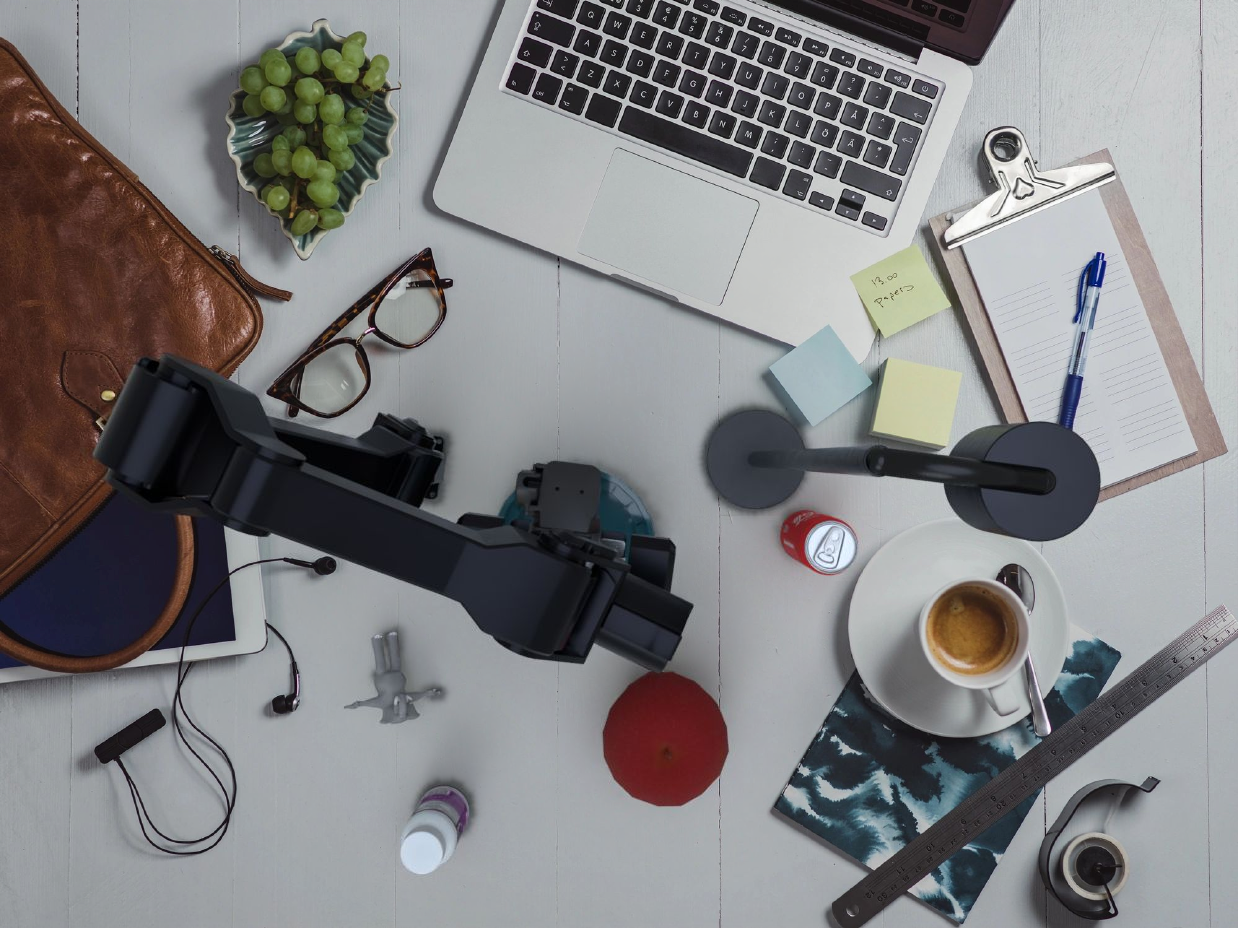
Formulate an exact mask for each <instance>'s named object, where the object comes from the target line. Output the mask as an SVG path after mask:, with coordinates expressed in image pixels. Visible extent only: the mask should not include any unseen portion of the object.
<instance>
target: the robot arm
mask: <svg viewBox="0 0 1238 928" xmlns="http://www.w3.org/2000/svg"><path fill="white" fill-rule="evenodd" d="M439 440H440V443H439V442H438V441H439ZM445 443H446V440H445V438H444V437H443V436H440V435H433V434H432V432H429V431H428V430H427V429H426V427H424V426H423V425H422V424H420V423H419V421H418V420H417V419H415V418H413V417H406V418H400V417H398V416H396V415H393V414H391V413H389V412H388V413H383V412H382V411H381V412H380V411H378V412H377V415H376V417H375V419H374V420H373V423H372V425H371V427H370V429H367V430H366V431H365V432H363V433H362V434H360V435H359V436H357V437H352V436H348V435H345V434H340V433H337V432H332V431H329V430H325V429H321V428H316V427H313V426H310V425H305V424H301V423H297V422H294V421H290V420H287V419H282V418H278V417H274V416H271V415H267V413H266V411H265V408H264V407H263V404H262V403H261V400H260V398H259V396H258V395H256V394H255V392H253V391H250V390H249V389H247V388H245V387H243V386H241V385H240V384H238V383H236V382H234V381H232V380H231V379H229V378H227V377H225V376H224V375H222V374H220V373H218V372H216V371H215V370H212V369H211V368H209V367H207V366H204V365H202V364H200V363H198V362H195V361H193V360H190V359H187V358H185V357H183V356H179V355H177V354H173V353H171V352H166V351H165V352H162V354H161V357H160V358H156V357H153V356H149V355H148V356H147V355H143V356H141V357H139V359H138V360H137V361H136V362H135V363H134V364H133V366H132V368H131V370H130V372H129V375H128V377H127V379H126V381H125V383H124V386H123V387H122V389H121V392H120V394H119V396H118V398H117V400H116V402H115V405H114V406H113V408H112V410H111V413H110V415H109V418H108V419H107V422H106V424H105V426H104V428H103V430H102V432H101V434H100V437H99V439H98V441H97V442H96V445H95V447H94V449H93V450H92V456H93V458H94V459H95V460H96V461H98V462H99V463H100V464H101V465H103V466H105V467H106V468H108V469H107V471H106V473H105V476H104V482H106V483H107V484H108V485H109V486H111V487H112V488H114V489H115V490H116V491H118V492H120V493H121V494H122V495H124V496H125V497H127V498H128V499H130V500H131V501H132V502H134V503H135V504H137V505H138V506H140V507H141V508H142V509H144V510H145V511H147V512H151V513H158V514H167V515H176V516H183V517H193V518H194V517H195V518H201V519H204V518H210V519H212V520H213V521H215V522H217V523H219V525H222V526H224V527H226V528H228V529H231V530H233V531H236V532H238V533H240V534H241V533H242V534H245V535H248V536H251V537H252V536H253V537H258V538H268V537H270V536H271V534H273V535H275V536H278V537H281V538H283V539H286V540H289V541H292V542H294V543H297V544H300V545H302V546H305V547H309V548H310V549H313V550H317V551H320V552H323V553H326V554H328V555H331V556H332V557H336V558H339V559H341V560H344V561H347V562H350V563H352V564H355V565H357V566H361V567H363V568H365V569H369V570H372V571H374V572H377V573H380V574H382V575H386V576H388V577H390V578H394V579H396V580H399V581H402V582H404V583H407V584H409V585H413V586H415V587H418V588H421V589H423V590H426V591H429V592H432V593H434V594H436V595H440V596H442V597H445V598H447V599H449V600H452V601H455V602H457V603H458V604H459V603H460V605H461V607H462V608H464V610H465V611H466V613H467V614H468V615H469V616H470V619H472V621H473V622H474V623H475V625H476V627H478V629H479V631H481V632H482V633H484V634H486V635H489V636H491V637H492V638H493V640H494V641H495V642H496V643H498V644H499V645H500V646H501V647H503V648H504V649H506V650H508V651H510V652H512V653H514V654H516V655H518V656H521V657H524V658H528V659H532V660H541V661H548V662H556V663H557V662H558V663H566V664H567V663H568V664H575V665H576V664H577V665H585V663H586V661H587V659H588V657H589V654H590V652H591V650H592V648H593V646H594V645H597V646H599V647H600V648H603V649H605V650H607V651H609V652H611V653H613V654H615V655H617V656H620V657H621V658H622V659H623V658H624V659H626V660H627V661H629V662H631V663H634V664H636V665H637V666H639V667H642V668H643V669H646V670H648V671H649V672H654V673H656V674H659V675H661V674H662V672H664V670H665V668H666V666H667V665H668V663H669V662H672V661H673V658H674V656H675V654H676V652H677V650H678V648H679V645H680V644H681V642H682V640H683V633H684V630H685V627H686V625H687V622H688V620H689V618H690V615H692V614H691V613H692V612H693V610H694V607H695V604H694V603H692V602H691V601H688V600H686V599H684V598H682V597H680V596H678V595H676V594H674V593H672V587H673V586H672V585H673V578H674V569H675V561H676V552H677V546H676V544H675V543H674V541H673V540H672V539H671V538H670V537H666V536H665V537H664V536H658V535H655V536H651V535H643V534H631V542H630V550H629V557H628V564H627V563H625V560H626V557H625V550H626V542H627V538H626V536H625V534H623V533H622V532H616V531H608V530H600V524H601V519H600V518H599V517H598V516H597V514H598V507H599V499H600V493H601V473H600V471H599V469H600V468H599V469H598V467H596V466H595V465H592V464H585V463H578V462H577V463H576V462H569V461H561V460H551V461H549V462H547V463H542V462H541V463H540V462H536V463H533V464H532V468H531V469H529V470H528V469H521V470H519V472H518V473H517V476H516V482H515V490H514V491H515V500H516V505H517V506H518V507H524V508H526V509H525V516H528V517H533V519H532V521H531V520H523V519H514V520H513V521H512V522H511V523H510V525H508V526H503V525H504V524H505V517H501V516H498V515H496V514H488V513H480V512H473V511H467V512H465V513H463V514H462V515H461V516H460V517H458V518H457V521H456V522H454V521H451V520H449V519H446V518H444V517H441V516H439V515H437V514H434V513H432V512H429V511H426V510H425V509H421V506H422V504H423V502H424V499H425V500H435V499H437V498H438V496H439V490H440V483H442V482H444V477H445V470H446V462H447V457H446V456H445V455H444V451H445V445H446V444H445ZM432 493H434V496H432ZM207 497H209V499H202V498H207Z"/></svg>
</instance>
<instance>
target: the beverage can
mask: <svg viewBox="0 0 1238 928" xmlns="http://www.w3.org/2000/svg"><path fill="white" fill-rule="evenodd" d="M779 536H780V542H781V546H782V548H783V550H784V551H785V553H786V554H787V555H788V556H790V557H791V558H792V559H794V560H796V561H797V562H799V563H800V564H802V565H803V566H805V567H806V568H808V569H810V570H811V571H812V572H814V573H816V574H818V575H822V576H836V575H840V574H841V573H844V572H845V571H847V570H848V569H849V568H851V566H852V565H853V564H854V563H855V560H856V558H857V556H858V552H859V540H858V537H857V535H856V532H855V531H854V529H853V528H852V526H851V525H849V524H848V523H847V522H846V521H845V520H842V519H840V518H838V517H834V516H831V515H827V514H824V513H821V512H818V511H814V510H811V509H802V510H798V511H795V512H793V513H791V514H790V515H789V516H788V517H787V518H786V519H785V520H784V522H783V524H782V526H781V529H780V535H779Z"/></svg>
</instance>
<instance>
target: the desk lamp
mask: <svg viewBox="0 0 1238 928" xmlns="http://www.w3.org/2000/svg"><path fill="white" fill-rule="evenodd" d="M704 460H705V468H706V474H707V475H708V478H709V481H710V483H711V485H712V486H713V488H714V490H716V492H717V493H718V494H719V495H720V496H721V497H723V499H725V500H727V501H728V502H729V503H731V504H733V505H735V506H738V507H741V508H744V509H749V510H763V509H768V508H772V507H774V506H775V507H776V506H777V505H779V504H781V503H783V502H784V501H786V500H787V499H788V498H789V497H791V496H792V495H793V494H794V493H795V491H796V490H797V489H798V487H799V486H800V484H801V482H802V480H803V478H804V475H805V472H809V473H821V474H833V475H834V474H835V475H846V476H847V475H848V476H860V477H870V478H871V477H872V478H883V477H889V478H890V477H891V478H897V479H906V480H914V481H921V482H922V481H923V482H930V483H937V484H943V490H944V494H945V497H946V500H947V502H948V504H949V506H950V507H951V509H952V510H953V512H954V513H955V514H956V516H957V517H958V518H959V519H960V520H962V521H963V523H965V524H967V525H969V527H972V528H974V529H976V530H978V531H981V532H986V533H990V534H994V535H999V536H1004V537H1009V538H1014V539H1019V540H1023V541H1028V542H1035V543H1036V542H1037V543H1043V542H1051V541H1055V540H1059V539H1062V538H1064V537H1067V536H1068V535H1070V534H1072V533H1073V532H1075V531H1076V530H1078V529H1079V528H1080V527H1081V526H1083V524H1085V522H1086V521H1087V520H1088V519H1089V518H1090V516H1091V515H1092V513H1093V512H1094V510H1095V508H1096V506H1097V503H1098V502H1099V501H1098V500H1099V497H1100V493H1101V483H1102V479H1101V469H1100V465H1099V462H1098V460H1097V457H1096V455H1095V453H1094V451H1093V449H1092V448H1091V446H1090V445H1089V444H1088V443H1087V442H1086V441H1085V439H1084V438H1083V437H1082V436H1080V435H1079V434H1078V433H1077V432H1075V431H1074V430H1073V429H1071V428H1069V427H1067V426H1064V425H1063V424H1060V423H1056V422H1052V421H1044V420H1043V421H1042V420H1037V421H1023V422H1014V423H1013V422H1012V423H1003V424H1002V423H1000V424H992V425H991V424H990V425H986V426H982V427H979V428H976V429H974V430H973V431H970V432H969V433H967V434H965V435H964V436H963V437H962V438H960V439H959V440H958V442H956V443H955V445H954V446H953V448H952V449H951V451H950V452H949V454H948V455H947V454H940V453H930V452H923V451H915V450H907V449H900V448H899V449H898V448H891V447H888V446H886V445H883V444H872V445H855V446H837V447H816V448H814V447H813V448H806V447H805V444H804V441H803V438H802V437H801V434H800V433H799V432H798V430H797V428H795V426H794V425H793V424H792V423H791V422H790V421H789V420H787V419H786V418H785V417H783V416H782V415H780V414H777V413H775V412H773V411H769V410H764V409H748V410H744V411H741V412H738V413H735V414H733V415H731V416H729V417H728V418H726V419H724V420H723V421H722V422H721V423H720V424H719V425H718V426H717V427H716V428H715V430H714V431H713V433H712V435H711V436H710V438H709V440H708V443H707V446H706V450H705V459H704Z"/></svg>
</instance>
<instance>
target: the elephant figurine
mask: <svg viewBox="0 0 1238 928" xmlns="http://www.w3.org/2000/svg"><path fill="white" fill-rule="evenodd" d="M385 637H386V643H387V649H388V650H387V651H388V657H389V666H390V667H389V668H388V667H387V660H386V654H385V647H384V641H383V635H382V634H376V635H374V636H372V637H371V639H370V641H371V646H372V650H373V655H374V663H375V672H376V674H375V677H374V680H373V685H374V688H375V691H376V693H377V696H374V697H371V698H368V699H366V700H356V701H354V702H353V703H351V704H347V705H345V706H343V709H344V710H347V709H349V710H356V709H358V708H359V707H367V708H368V707H369V708H375V709H376V708H377V709H380V710H382V717H381V719H380V720H379V724H381V725H388V724H390V725H397V724H402V723H404V722H406V721H409V720H410V721H411V720H416V719H418V718H419V717H420V716H421V714H420V713H418V711H417V709H416V707H415V705H414V704H413V703H414V702H417V701H419V700H421V699H423V698H430V697H433V696H435V695H439V694H441V690H437V689H436V688H434V689H433V688H432V689H428V690H424V691H410V692H409V691H406V684H407V678H406V676H405V674H404V673H403V672H402V662H401V656H400V652H399V651H400V650H399V644H398V643H399V642H398V632H397V631H392V632H389V633H388V634H386V635H385Z"/></svg>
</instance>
